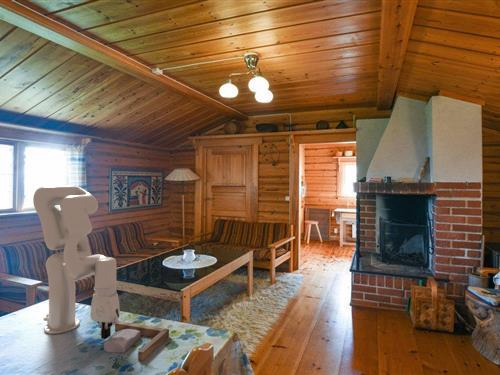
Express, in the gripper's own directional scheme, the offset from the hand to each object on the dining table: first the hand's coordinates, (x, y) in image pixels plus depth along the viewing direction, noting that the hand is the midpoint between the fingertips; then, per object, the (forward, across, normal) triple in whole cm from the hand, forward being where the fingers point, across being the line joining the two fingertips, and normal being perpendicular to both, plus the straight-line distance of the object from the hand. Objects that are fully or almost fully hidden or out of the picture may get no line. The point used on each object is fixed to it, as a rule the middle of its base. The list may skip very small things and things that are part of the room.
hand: (105, 337), depth 117 cm
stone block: (+2, +7, 0) cm, 7 cm away
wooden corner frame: (+2, +9, +2) cm, 10 cm away
